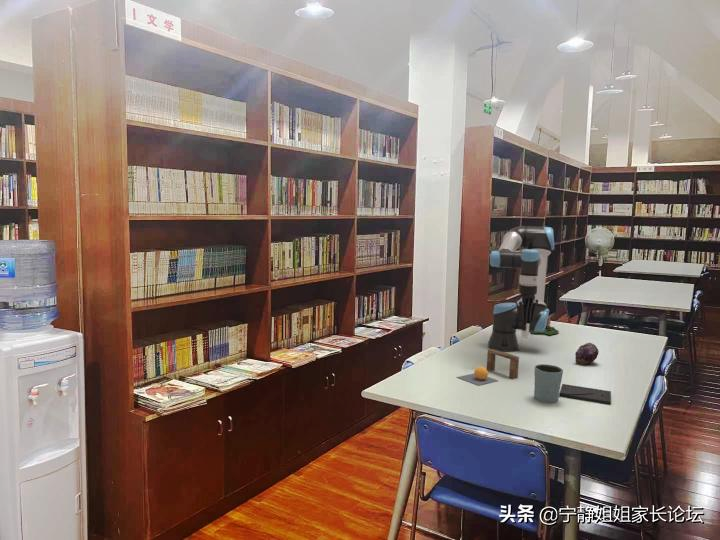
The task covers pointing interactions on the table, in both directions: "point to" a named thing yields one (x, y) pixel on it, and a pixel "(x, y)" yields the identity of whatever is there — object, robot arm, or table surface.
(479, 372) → the ball
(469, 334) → the table surface
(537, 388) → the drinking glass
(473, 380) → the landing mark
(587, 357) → the rock
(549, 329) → the bonsai tree
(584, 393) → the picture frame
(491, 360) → the bridge
